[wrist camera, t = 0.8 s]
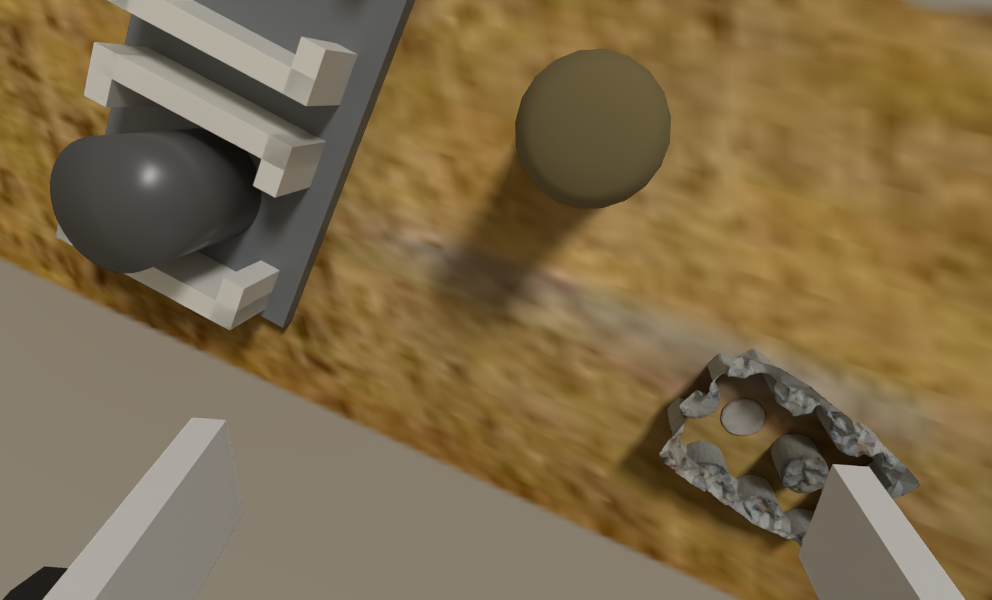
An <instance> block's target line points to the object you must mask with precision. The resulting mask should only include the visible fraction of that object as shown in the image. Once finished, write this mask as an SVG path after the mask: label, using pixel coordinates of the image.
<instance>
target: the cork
mask: <svg viewBox="0 0 992 600" xmlns="http://www.w3.org/2000/svg"><path fill="white" fill-rule="evenodd" d="M670 124H671V115H670V112H669V108H668V105H667V101H666V98H665V94H664V91H663V90H662V88H661V87H660V85H659V84H658V83H657V81H656V80H655V78H654V77H653V75H652V74H651V72H650V71H649V70H647V69H646V68H645V67H643V66H642V65H641V64H639V63H638V62H636V61H635V60H634V59H632V58H631V57H629V56H627V55H623V54H620V53H616V52H613V51H609V50H606V49H597V50H580V51H577V52H574V53H572V54H569V55H567V56H564V57H562V58H559V59H557V60H555V61H554V62H552V63H551V64H550V65H549V66H548V67H547V68H545V69H544V70H543V71H542V72H541V73H539V74H538V75H537V76H536V77H535V78H534V80H533V82H532V83H531V85H530V86H529V88H528V89H527V91H526V93H525V94H524V96H523V97H522V100H521V103H520V107H519V111H518V114H517V118H516V122H515V129H516V148H517V151H518V154H519V157H520V160H521V162H522V165H523V168H524V170H525V171H526V173H527V174H528V175H529V177H530V178H531V180H532V181H533V182H534V184H535V185H536V186H537V188H539V189H540V190H541V191H543V192H544V193H546V194H547V195H548V196H550V197H551V198H553V199H554V200H555V201H557V202H560V203H564V204H567V205H570V206H573V207H576V208H604V207H607V206H610V205H613V204H616V203H619V202H622V201H625V200H627V199H628V198H630V197H631V196H632V195H634V194H635V193H637V192H638V191H639V190H641V189H642V188H644V187H645V186H646V185H647V184H648V182H649V181H650V180H651V178H652V177H653V176H654V174H655V173H656V172H657V171H658V169H659V168H660V167H661V164H662V162H663V159H664V156H665V153H666V151H667V148H668V145H669V143H670Z"/></svg>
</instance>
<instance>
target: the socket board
mask: <svg viewBox="0 0 992 600" xmlns="http://www.w3.org/2000/svg"><path fill="white" fill-rule="evenodd" d="M107 1H109V2H111V3H113V4H115V5H117V6H119V7H120V8H122V9H124V10H126V11H128V12H130V13H132V14H131V18H130V23H129V27H128V32H127V37H126V41H125V45H120V44H110V43H100V42H94V46H93V51H92V56H91V61H90V66H89V71H88V76H87V81H86V87H85V92H84V96H86V97H88V98H90V99H92V100H93V101H95V102H97V103H99V104H101V105H103V106H105V107H111V110H110V115H109V119H108V124H107V129H106V133H105V135H102V136H91V137H84V138H81V139H78V140H76V141H74V142H72V143H71V144H70V145H68V146H67V147H66V148H65V149H64V150H63V151H62V152H61V153H60V155H59V156H58V158H57V160H56V162H55V164H54V166H53V170H52V174H51V180H50V194H51V202H52V206H53V210H54V213H55V216H56V219H57V221H58V228H57V233H56V237H57V238H59V239H61V240H63V241H65V242H67V243H68V244H70V245H72V246H74V247H75V248H76V249H77V250H78V251H79V252H80V253H81V254H82V255H83V256H85V257H86V258H87V259H89V260H90V261H91V262H93V263H95V264H96V265H98V266H100V267H102V268H104V269H107V270H110V271H114V272H119V273H124V274H126V275H128V276H130V277H131V278H133V279H135V280H137V281H139V282H141V283H143V284H144V285H146V286H148V287H150V288H152V289H154V290H156V291H157V292H159V293H161V294H163V295H165V296H167V297H169V298H170V299H172V300H174V301H176V302H178V303H180V304H182V305H183V306H185V307H187V308H189V309H191V310H193V311H195V312H196V313H198V314H200V315H202V316H204V317H206V318H208V319H209V320H211V321H213V322H215V323H217V324H219V325H220V326H222V327H224V328H226V329H228V330H232V329H233V328H235V327H236V326H238V325H240V324H241V323H243V322H245V321H246V320H248V319H250V318H251V317H253V316H255V315H256V314H258V315H260V316H262V317H264V318H265V319H267V320H269V321H271V322H273V323H275V324H277V325H278V326H280V327H282V328H283V327H284V326H286V325H287V324H289V323H290V322H291V321H292V318H293V316H294V313H295V311H296V308H297V305H298V303H299V300H300V298H301V295H302V292H303V290H304V287H305V285H306V282H307V279H308V277H309V274H310V271H311V269H312V266H313V264H314V261H315V258H316V256H317V253H318V251H319V248H320V245H321V243H322V240H323V238H324V235H325V232H326V230H327V227H328V225H329V222H330V219H331V217H332V214H333V212H334V209H335V206H336V204H337V201H338V199H339V196H340V193H341V191H342V188H343V186H344V183H345V180H346V178H347V175H348V173H349V170H350V167H351V165H352V162H353V160H354V157H355V154H356V152H357V149H358V146H359V144H360V141H361V139H362V136H363V133H364V131H365V128H366V126H367V123H368V120H369V118H370V115H371V113H372V110H373V107H374V105H375V102H376V100H377V97H378V94H379V92H380V89H381V87H382V84H383V81H384V79H385V76H386V74H387V71H388V68H389V66H390V63H391V61H392V58H393V55H394V53H395V50H396V48H397V45H398V42H399V40H400V37H401V35H402V32H403V29H404V27H405V24H406V21H407V19H408V16H409V14H410V11H411V8H412V6H413V3H414V1H415V0H107Z"/></svg>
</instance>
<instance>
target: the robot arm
mask: <svg viewBox="0 0 992 600" xmlns="http://www.w3.org/2000/svg"><path fill="white" fill-rule="evenodd" d="M242 515H243V508H242V503H241V497H240V492H239V486H238V482H237V476H236V471H235V465H234V459H233V454H232V449H231V444H230V438H229V432H228V427H227V421H226V420H217V419H203V418H191V420H190V421H189V422H188V423H187V424H186V426H185V427H184V428H183V429H182V430H181V432H180V433H179V434H178V435H177V437H176V438H175V439H174V440H173V441H172V443H171V444H170V445H169V446H168V448H167V449H166V450H165V451H164V453H163V454H162V455H161V456H160V457H159V459H158V460H157V461H156V462H155V463H154V465H153V466H152V467H151V468H150V469H149V471H148V472H147V473H146V474H145V476H144V477H143V478H142V479H141V480H140V482H139V483H138V484H137V485H136V486H135V488H134V489H133V490H132V492H131V493H130V494H129V495H128V496H127V497H126V499H125V500H124V501H123V503H122V504H121V505H120V506H119V507H118V509H117V510H116V511H115V512H114V513H113V514H112V516H111V517H110V518H109V520H108V521H107V522H106V523H105V524H104V525H103V527H102V528H101V529H100V530H99V532H98V533H97V534H96V535H95V537H94V538H93V539H92V540H91V541H90V543H89V544H88V545H87V546H86V547H85V549H84V550H83V551H82V552H81V554H80V555H79V556H78V557H77V558H76V560H75V561H74V562H73V563H72V564H71V566H70V567H69V568H57V567H43V568H42V569H40V570H39V571H37V572H36V573H35V574H33V575H32V576H31V577H29V578H28V579H26V580H25V581H24V582H22V583H21V584H20V585H18V586H17V587H16V588H14V589H13V590H11V591H10V592H9V593H8V595H6V596H5V598H4V599H3V600H195V598H196V596H197V594H198V593H199V591H200V589H201V587H202V586H203V584H204V582H205V580H206V578H207V577H208V575H209V573H210V571H211V570H212V568H213V566H214V564H215V563H216V561H217V559H218V557H219V555H220V554H221V552H222V550H223V549H224V547H225V545H226V543H227V542H228V540H229V538H230V536H231V534H232V533H233V531H234V529H235V527H236V526H237V524H238V522H239V520H240V519H241V517H242ZM798 557H799V559H800V561H801V563H802V565H803V567H804V569H805V571H806V573H807V575H808V578H809V580H810V582H811V584H812V586H813V588H814V590H815V592H816V594H817V596H818V598H819V600H965V599H964V597H963V596H962V595H961V593H960V592H959V590H958V589H957V588H956V586H955V585H954V584H953V582H952V581H951V579H950V578H949V577H948V575H947V574H946V572H945V571H944V570H943V568H942V567H941V566H940V564H939V563H938V561H937V560H936V559H935V557H934V556H933V555H932V553H931V552H930V550H929V549H928V548H927V546H926V545H925V543H924V542H923V541H922V539H921V538H920V537H919V535H918V534H917V532H916V531H915V530H914V528H913V527H912V526H911V524H910V523H909V521H908V520H907V519H906V517H905V516H904V514H903V513H902V512H901V510H900V509H899V508H898V506H897V505H896V503H895V502H894V501H893V499H892V498H891V497H890V495H889V494H888V492H887V491H886V490H885V488H884V487H883V485H882V484H881V483H880V481H879V480H878V479H877V477H876V476H875V474H874V473H873V472H872V470H871V469H870V467H866V466H852V465H838V464H832V467H831V469H830V472H829V475H828V478H827V480H826V483H825V486H824V488H823V491H822V494H821V496H820V499H819V502H818V504H817V507H816V510H815V512H814V515H813V518H812V520H811V523H810V526H809V528H808V531H807V534H806V536H805V539H804V542H803V544H802V547H801V550H800V552H799V555H798Z"/></svg>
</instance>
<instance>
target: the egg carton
mask: <svg viewBox="0 0 992 600" xmlns="http://www.w3.org/2000/svg"><path fill="white" fill-rule="evenodd" d="M707 367H708V370H709V372H710V376H711V378H712V383H711V385H710V387H709V393H708V394H706V393H703V392H700V391H698V390H696V391H695V392H694V393H692V394H691V395H690V396H689V397H688V398H687V399H686V400H684V399H681V398H677V399H676V400H675V401H674V402H673V403H672V404H671V405H670V406H669V407H668V408H667V413H668V418H669V424H670V428H671V431H672V438H671V439H668V441H667V443H666V445H665V446H664V447H663V449H662V450H661V451H660V454H659V455H660V457H661V458H664V459H663V462H664V463H665V464H666V465H668V466H670V467H671V468H672V469H673V470H674V472H675V473H677V474H678V475H680V476H681V477H683V478H685V479H686V480H687V481H688V482H689V483H690V484H692V485H694V486H695V487H697V488H699V489H701V490H702V491H704V492H705V491H706V490H708V491H709V492H710V493H711V494H713V495H714V496H715V497H716V498H717V499H718V500H719V501H721V502H722V503H723V504H724V505H729V506H730V507H732V508H733V509H734V510H736V511H737V512H739V513H740V514H742V515H743V516H744V517H745V518H746V519H748V520H749V521H750V522H751V523H752V524H755V525H757V526H759V527H761V528H763V529H766V530H768V531H770V532H773V533H776V534H779V535H780V536H782V537H784V538H786V539H793V540H795V541H796V542H798V544H799V545H800V546H801V547H802V544H803V542H804V539H805V536H806V534H807V531H808V528H809V526H810V523H811V520H812V518H813V515H814V512H813V511H810V510H806V509H800V508H796V509H791V510H789V511H787V512H784V513H783V512H782V511H781V508H780V506H779V503H778V501H777V498H776V496H775V494H774V491H773V489H772V486H771V485H770V484H769V482H768V481H767V480H766V479H764V478H762V477H760V476H756V475H745V476H742V477H739V478H735V477H733V476H731V475H729V471H728V468H727V465H726V462H725V459H724V456H723V454H722V452H721V450H720V449H719V448H718V447H717V446H716V445H714V444H712V443H710V442H706V441H697V442H693V443H690V444H688V445H684V444H682V443H681V442H679V438H680V435H681V434H682V432H683V431H684V416H686V417H688V418H695V419H699V418H702V417H706V416H708V415H710V414H712V413H713V412H715V411H716V409H717V408H718V406H719V402H720V393H719V389H718V387H717V384H716V381H715V380H716V379H717V378H718V377H719V376H720V375H722V374H724V373H726V374H727V375H728V376H729V377H730V376H733V377H737V378H746V377H748V376H749V375H754V374H756V373H763V375H764V379H765V381H766V383H767V385H768V387H769V389H770V391H771V392H772V394H773V396H774V398H775V400H776V402H777V403H778V404H779V405H781V406H782V407H784V408H785V409H787V410H789V411H790V412H791V413H792V415H793V416H799V415H802V414H811V413H812V411H813V410H814V408H815V407H816V406H817V407H816V414H817V417H818V419H819V420H820V421H821V423H822V425H823V426H824V428H825V429H826V431H827V433H828V434H829V436H830V438H831V439H832V441H833V442H834V444H835V445H836V447H837V449H838V450H839V451H841V452H843V453H845V454H848V455H850V456H855V457H859V456H861V455H864V454H866V455H867V456H869V457H872V459H873V461H872V463H870V464H869V465H868V466H867V467H870V469H871V470H872V472H873V473H874V474H875V476H876V477H877V479H878V480H879V481H880V483H881V484H882V485H883V487H884V488H885V490H886V491H887V492H888V494H889V495H890V497H891V498H892V499H893V498H896V497H899V496H903V495H905V494H907V493H909V492H910V491H912V490H914V489H915V488H917V487H919V486H920V484H919V482H918V480H917V479H916V478H915V477H914V476H913V474H912V473H911V472H910V471H909V470H908V469H907V468H906V467H905V465H904V464H903V463H902V462H901V461H900V460H899V459H898V458H896V457H895V456H894V455H893V454H892V453H891V452H890V451H889V450H888V449H887V448H886V447H885V446H884V445H883V444H882V443H881V442H880V440H879V439H878V437H877V436H876V435H875V434H874V432H873V431H872V430H870V429H869V428H868V427H866V426H865V425H863V424H862V423H860V422H859V423H856V424H855V423H854V422H853V421H852V420H851V419H850V418H848V417H847V416H846V415H845V414H843V413H842V412H840V411H839V410H838V409H837V408H835V407H834V406H833V405H832V404H830V403H829V402H828V401H827V400H826V399H825V398H823V397H822V396H821V395H820V394H819V393H818V392H816V391H815V390H814V389H813V388H812V387H810V386H808V385H807V384H805V383H803V382H802V381H800V380H798V379H797V378H795V377H794V376H792V375H790V374H789V373H787V372H785V371H784V370H782V369H780V368H777V367H775V366H772V364H771V363H770V361H769V359H768V358H767V357H766V356H765V355H764V354H762V353H761V352H759V351H757V350H756V349H751V350H749V351H748V352H746V353H745V354H742V355H739V356H729V355H725V354H719V355H717V356H716V357H715V358H714V359H713V360H712V361H710V362H709V363H708V366H707ZM683 415H684V416H683ZM720 419H721V422H722V425H723V426H724V428H725V429H726V430H727V431H729V432H731V433H732V434H735V435H739V436H747V435H751V434H754V433H756V432H757V431H759V430H760V429H761V427H762V426H763V424H764V421H765V414H764V411H763V409H762V407H761V406H760V405H759V404H758V403H757V402H755V401H753V400H750V399H735V400H732V401H730V402H729V403H727V404H726V405H725V406H724V408H723V409H722V413H721V418H720ZM771 456H772V459H773V461H774V464H775V467H776V469H777V471H778V474H779V476H780V479H781V484H782V485H783V486H784V487H788V488H789V489H790V490H792V491H794V492H796V493H799V494H801V493H810V492H814V491H816V490H818V489H820V488H821V492H822V491H823V488H824V486H825V483H826V480H827V478H828V475H829V472H830V471H829V469H828V466H827V464H826V462H825V460H824V459H823V457H822V456H821V454H820V452H819V450H818V449H817V447H816V445H815V444H814V442H813V441H812V440H811V439H810V438H808V437H807V436H805V435H801V434H788V435H784V436H782V437H780V438H779V439H777V440H776V441H775V442H774V444H773V446H772V448H771Z"/></svg>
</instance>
